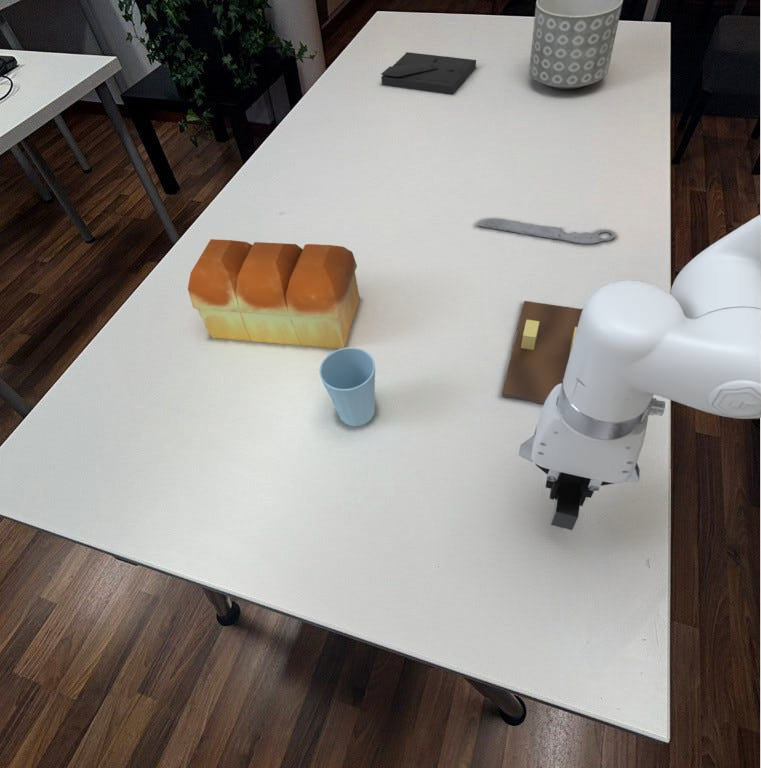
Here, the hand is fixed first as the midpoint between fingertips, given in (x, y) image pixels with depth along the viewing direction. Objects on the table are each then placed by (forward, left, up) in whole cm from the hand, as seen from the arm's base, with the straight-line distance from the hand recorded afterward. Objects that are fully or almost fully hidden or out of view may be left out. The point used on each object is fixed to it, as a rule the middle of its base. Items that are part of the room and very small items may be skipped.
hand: (567, 491), depth 66 cm
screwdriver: (0, -5, -1) cm, 5 cm away
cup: (+31, -9, -7) cm, 33 cm away
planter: (+13, -119, -7) cm, 120 cm away
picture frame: (+49, -119, -7) cm, 129 cm away
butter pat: (+8, -28, -6) cm, 30 cm away
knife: (+10, -58, -7) cm, 59 cm away
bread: (+50, -25, -7) cm, 56 cm away
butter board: (+1, -27, -7) cm, 28 cm away
